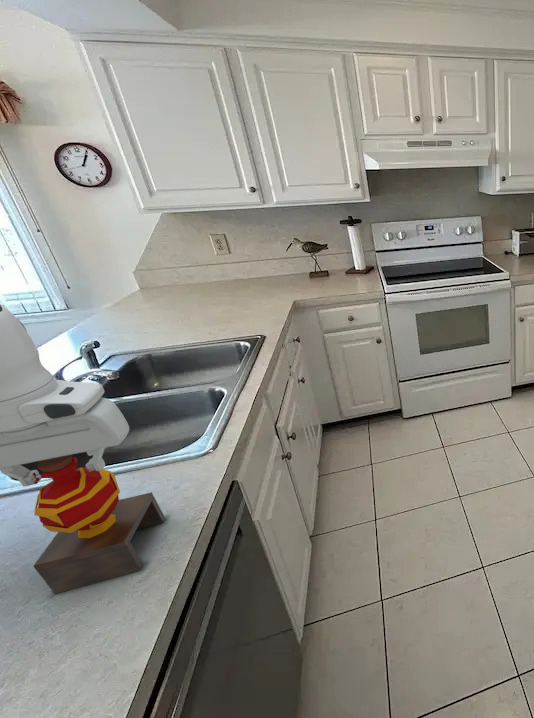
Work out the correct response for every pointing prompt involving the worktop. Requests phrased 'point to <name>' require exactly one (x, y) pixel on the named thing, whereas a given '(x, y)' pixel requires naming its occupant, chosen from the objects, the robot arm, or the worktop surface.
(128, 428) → the robot arm
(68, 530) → the potion bottle
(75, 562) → the shelf
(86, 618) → the worktop surface
